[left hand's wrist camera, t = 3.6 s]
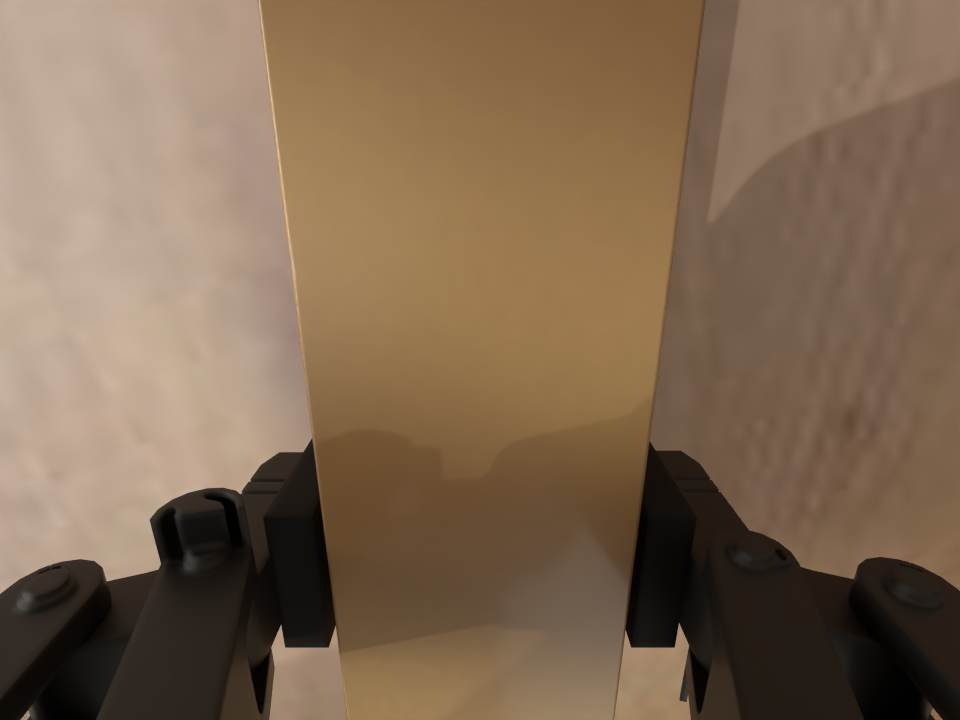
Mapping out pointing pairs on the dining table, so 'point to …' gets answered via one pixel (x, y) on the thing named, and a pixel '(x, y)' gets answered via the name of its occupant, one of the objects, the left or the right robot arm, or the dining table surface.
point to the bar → (481, 329)
